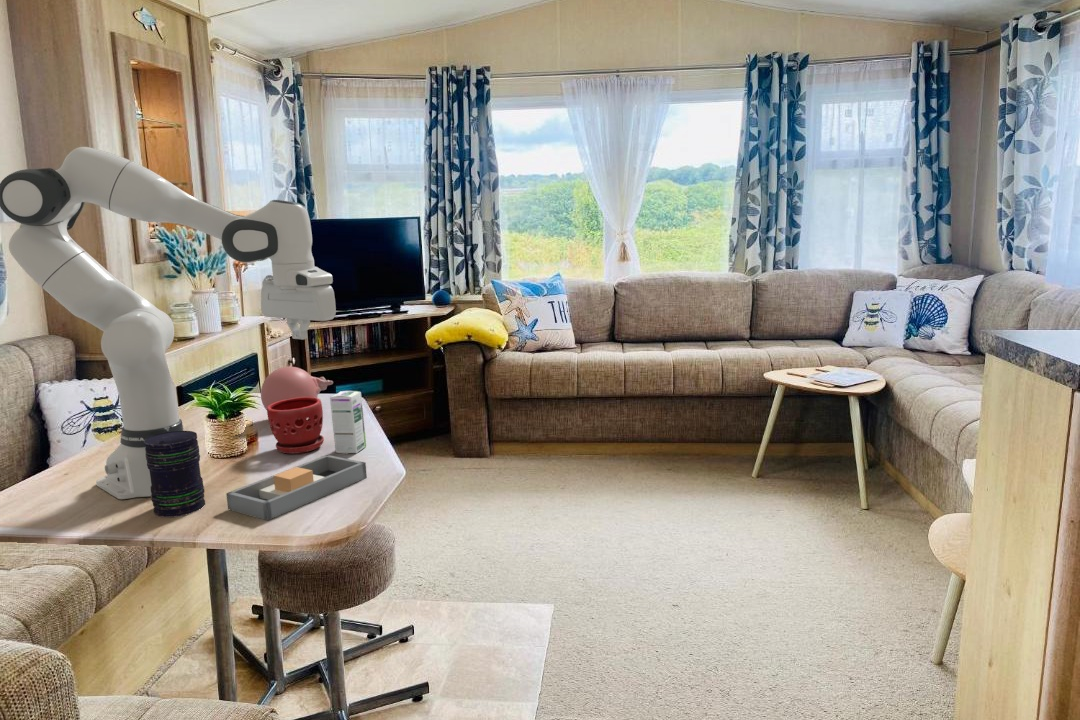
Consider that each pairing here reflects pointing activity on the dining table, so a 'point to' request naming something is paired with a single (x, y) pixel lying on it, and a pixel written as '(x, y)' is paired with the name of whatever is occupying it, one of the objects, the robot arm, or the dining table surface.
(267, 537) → the dining table surface
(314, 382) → the balloon
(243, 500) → the tray box
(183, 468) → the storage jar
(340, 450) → the syrup box
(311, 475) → the wooden block
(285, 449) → the plant pot
